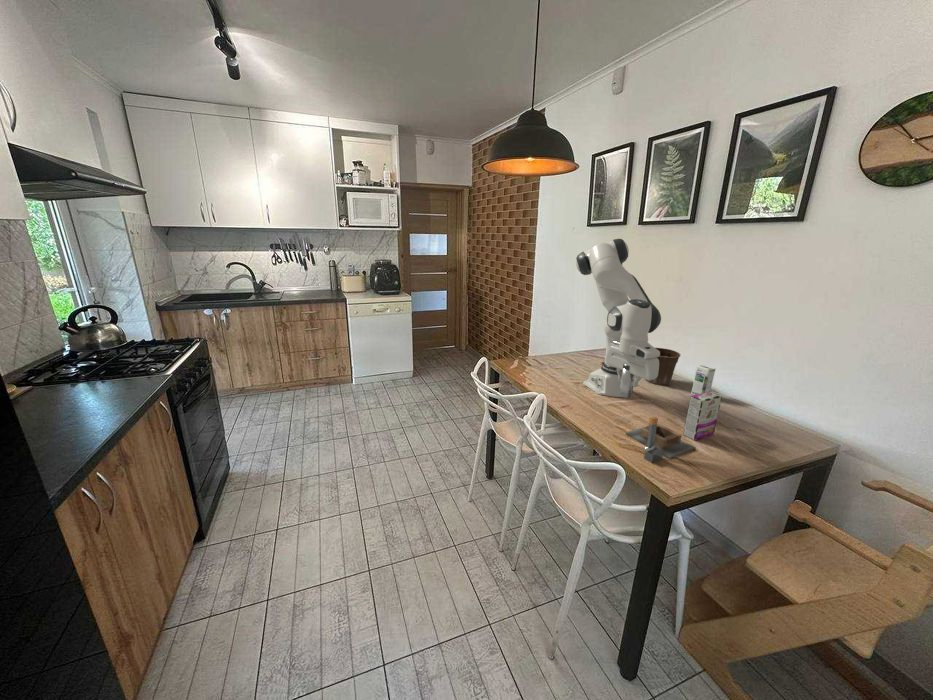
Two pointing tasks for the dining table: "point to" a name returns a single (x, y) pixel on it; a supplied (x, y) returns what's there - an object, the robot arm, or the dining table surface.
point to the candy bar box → (702, 415)
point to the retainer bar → (652, 431)
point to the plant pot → (666, 366)
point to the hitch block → (663, 440)
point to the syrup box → (703, 379)
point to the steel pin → (626, 382)
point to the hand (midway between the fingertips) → (627, 383)
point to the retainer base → (652, 454)
